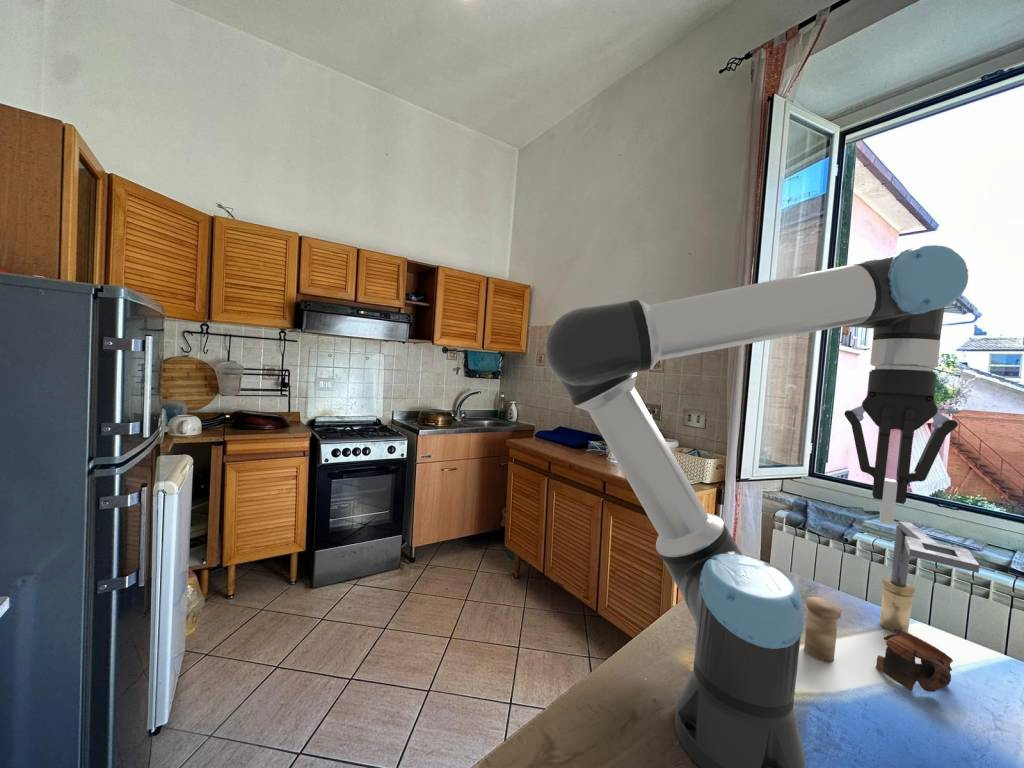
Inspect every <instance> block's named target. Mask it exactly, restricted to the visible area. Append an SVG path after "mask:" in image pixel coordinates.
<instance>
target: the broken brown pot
mask: <svg viewBox="0 0 1024 768" xmlns="http://www.w3.org/2000/svg"><path fill="white" fill-rule="evenodd" d="M895 631H896V633H893V634H892V633H891V634H889V635H886V636H884V637H883V640H884V641H885V645H886V649H885V652H884V655H885V656H882V655H877V657H876V665H875V668H876V669H877V670H878V671H880V672H882V673H883V674H885V675H887V676H888V677H889V678H890V679H892V680H894V681H895V682H897V683H898V684H900V685H902V686H903V687H904V688H907V690H909V691H912V690H913V688H914V686H915V685H916V682H917V683H918V684H919V686H920V688H922V690H924V691H925V692H930V693H936V691H938V690H942V689H944V688H946V687H948V685H949V686H950V683H951V681H952V674H951V672H952V671H953V668H952V667H951V664H952V663H953V662H954V659H952V657H950V656H949V655H947V654H946V653H945V652H944V651H942V650H940V649H939V648H937V647H936V646H934V645H933V644H930V642H929V643H928V642H927V641H925V640H923V639H922V638H920V637H917V636H915V635H913V634H911V633H910V632H908V633H907V632H905V631H903V630H900V629H895ZM916 658H917V659H919V660H920V663H916Z"/></svg>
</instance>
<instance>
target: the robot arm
mask: <svg viewBox="0 0 1024 768" xmlns="http://www.w3.org/2000/svg"><path fill="white" fill-rule="evenodd" d="M968 283H969V269H968V266H967V262H966V261H965V259H964V258H963V256H962V255H961V254H960V253H959V252H957V251H956V250H955V249H952V248H950V247H948V246H944V245H940V244H928V245H924V246H923V245H922V246H919V247H916V248H910V249H909V248H908V249H905V250H903V251H901V252H900V253H898V254H894V255H892V256H886V257H882V258H878V259H872V260H866V261H862V262H859V263H855V264H846V265H841V266H836V267H831V268H826V269H822V270H821V269H820V270H817V271H812V272H807V273H802V274H797V275H792V276H787V277H782V278H778V279H772V280H767V281H762V282H758V283H751V284H747V285H743V286H742V285H741V286H738V287H732V288H727V289H724V290H723V289H722V290H717V291H713V292H708V293H704V294H697V295H692V296H689V297H688V296H687V297H683V298H679V299H673V300H668V301H663V302H659V303H653V304H648V303H646V302H644V301H643V300H641V299H640V298H639V299H633V300H629V301H622V302H616V303H610V304H604V305H594V306H587V307H581V308H576V309H573V310H570V311H568V312H566V313H564V314H563V315H561V316H560V317H559V318H558V319H556V320H555V322H554V323H553V324H552V326H551V327H550V329H549V331H548V333H547V335H546V339H545V345H544V347H545V355H546V360H547V361H546V362H547V363H548V365H549V368H550V369H551V371H552V372H553V373H554V374H555V375H556V376H557V377H558V379H559V381H560V383H561V384H562V386H563V387H564V389H565V391H566V392H567V395H568V396H569V398H570V400H571V402H572V403H573V405H574V406H575V408H577V409H581V410H584V411H586V412H587V413H589V415H590V417H591V419H592V421H593V422H594V424H595V426H596V427H597V429H598V431H599V433H600V434H601V436H602V438H603V440H604V441H605V443H606V445H607V447H608V449H609V450H610V452H611V454H612V456H613V457H614V460H616V462H617V464H618V466H619V468H620V469H621V471H622V472H623V475H624V476H625V478H626V481H628V484H629V485H630V486H631V489H632V490H633V492H634V494H635V496H636V497H637V499H638V501H639V502H640V505H641V506H642V508H643V510H644V511H645V513H646V515H647V517H648V518H649V520H650V522H651V525H652V526H653V527H654V529H655V530H656V532H657V534H658V535H657V538H656V542H655V549H656V552H657V553H658V554H659V556H660V558H661V560H662V561H663V563H664V565H665V567H666V569H667V570H668V572H669V574H670V576H671V578H672V580H673V581H674V583H675V585H676V586H677V588H678V590H679V592H680V594H681V596H682V597H683V600H684V601H685V604H686V606H687V608H688V610H689V613H690V614H691V617H692V618H693V621H694V622H695V625H696V626H695V627H696V628H695V629H696V634H695V646H694V660H693V668H692V672H691V673H690V675H689V677H688V679H687V681H686V683H685V685H684V687H683V689H682V690H681V693H680V695H679V697H678V699H677V701H676V705H675V716H674V727H675V732H676V733H675V734H676V736H677V739H678V741H679V743H680V745H681V746H682V748H683V750H684V751H685V753H686V754H687V755H688V757H689V758H690V759H691V760H692V762H693V763H694V764H695V765H696V766H697V767H698V768H806V756H805V752H804V748H803V743H802V740H801V735H800V730H799V729H798V724H797V719H796V716H795V712H794V703H795V695H796V694H795V692H796V683H797V674H798V666H799V654H800V646H801V636H802V634H803V630H804V616H803V599H802V597H801V594H800V591H799V590H798V588H797V586H796V585H795V584H794V583H793V581H792V580H791V579H790V578H789V577H788V576H787V575H786V574H784V573H783V572H781V570H778V569H777V568H776V567H774V566H768V565H767V564H766V563H765V562H764V561H761V560H759V559H756V558H753V557H750V556H746V555H744V554H743V553H742V551H741V550H740V548H739V546H738V545H737V542H736V541H735V540H734V538H733V536H732V534H731V533H730V530H729V529H728V527H727V526H726V524H725V522H724V521H723V519H722V518H721V517H720V516H718V515H716V514H714V513H713V514H712V513H709V512H707V510H706V508H705V506H704V505H703V503H702V502H701V500H700V498H699V496H698V495H697V493H696V492H695V489H694V488H693V487H692V485H691V482H690V481H689V479H688V478H687V476H686V474H685V473H684V470H683V469H682V467H681V465H680V463H679V462H678V460H677V458H676V457H675V455H674V453H673V451H672V450H671V449H670V447H669V445H668V443H667V441H666V440H665V438H664V436H663V434H662V432H661V431H660V429H659V428H658V425H657V424H656V421H655V420H654V418H653V417H652V415H651V414H650V411H649V410H648V408H647V407H646V404H645V403H644V402H643V400H642V398H641V396H640V394H639V393H638V391H637V389H636V387H635V386H636V385H635V383H636V381H637V376H638V373H639V372H643V371H644V372H645V371H649V370H652V369H653V368H654V367H655V365H656V364H657V363H658V362H659V361H664V360H668V359H675V358H680V357H684V356H690V355H696V354H700V353H705V352H711V351H716V350H717V351H718V350H722V349H729V348H734V347H739V346H743V345H749V344H753V343H760V342H765V341H770V340H776V339H781V338H782V339H783V338H788V337H792V336H798V335H803V334H809V333H814V332H820V331H825V330H830V329H836V328H840V327H841V328H863V329H873V330H872V331H873V332H872V334H873V335H872V346H871V353H870V354H871V355H870V363H869V364H870V365H871V366H873V367H874V369H871V370H870V371H869V373H868V382H867V383H868V384H867V393H866V397H865V398H864V399H863V401H861V402H862V403H861V405H860V406H858V407H857V406H856V407H854V408H852V409H847V410H845V412H844V414H843V415H844V417H845V418H846V419H847V421H848V423H849V424H850V425H851V430H852V435H853V439H854V445H855V448H856V449H855V450H856V454H857V460H858V465H859V469H860V471H861V472H863V473H866V474H867V475H870V476H871V477H873V483H872V493H871V494H872V497H873V499H875V500H880V506H879V508H880V509H879V519H878V520H879V523H880V524H885V525H890V526H894V521H895V512H896V504H901V505H904V504H905V503H906V501H907V495H908V493H907V492H908V486H909V484H910V483H913V482H925V481H926V479H927V478H928V475H929V473H930V471H931V468H932V466H933V464H934V463H935V460H936V458H937V456H938V453H939V451H940V450H941V448H942V445H943V444H944V441H945V440H946V438H947V435H949V434H950V433H952V431H954V429H956V428H957V427H958V426H959V422H958V421H956V420H955V419H950V418H949V417H947V416H945V415H943V414H942V413H940V412H939V408H938V406H937V404H936V402H935V394H936V393H935V392H936V385H937V384H936V383H937V373H936V372H935V371H933V369H935V368H937V367H939V358H940V347H941V336H942V328H943V321H944V314H945V308H946V307H948V306H949V305H951V304H952V303H954V302H955V301H957V299H959V298H960V296H962V295H963V293H964V292H965V290H966V288H967V285H968ZM865 412H866V414H867V415H868V417H870V419H871V420H872V422H873V423H874V424H875V425H876V426H877V427H878V436H877V444H876V453H875V461H874V466H873V465H871V464H870V461H869V455H868V451H867V447H866V446H867V445H866V441H865V437H864V431H863V427H862V424H861V421H863V420H864V413H865ZM931 419H932V420H933V422H932V423H931V427H932V428H934V429H933V430H932V432H931V434H930V436H929V438H928V440H927V443H926V444H925V447H924V449H923V451H922V453H921V454H920V455H921V456H920V457H919V459H918V461H917V464H916V466H915V468H914V470H913V471H910V469H911V459H912V452H913V450H912V449H913V442H914V436H915V431H916V430H919V429H920V428H921V427H922V426H923V425H925V424H926V423H927V422H929V421H930V420H931ZM891 430H898V431H900V432H899V433H900V437H899V445H898V446H899V447H898V455H897V456H898V457H897V467H896V474H895V475H896V479H892V478H886V473H887V465H888V463H887V462H888V456H889V455H888V454H889V448H890V447H889V446H890V436H891Z"/></svg>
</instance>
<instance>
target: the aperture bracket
mask: <svg viewBox="0 0 1024 768" xmlns="http://www.w3.org/2000/svg"><path fill="white" fill-rule="evenodd" d="M895 527H896V528H895V534H894V535H895V536H894V545H893V554H892V564H891V571H890V572H891V575H890V578H888V577H884V578H882V579H881V588H882V594H881V595H882V596H881V604H880V605H881V608H880V615H879V625H880V626H881V627H882V628H883V627H884V628H883V629H886V630H887V631H889V632H892V633H894V632H895V633H896V631H895V629H900V630H903V631H905V632H907V633H909V628H910V621H911V620H910V619H911V610H912V601H913V597H915V594H916V593H915V592H916V588H915V587H914V586H912V585H911V584H909V583H908V576H909V575H908V574H909V564H910V557H913V558H916V559H921V560H925V561H929V562H932V563H935V564H936V563H937V564H941V565H945V566H948V567H954V568H957V569H961V570H966V571H970V572H974V573H978V574H979V572H980V564H979V562H977V560H976V559H975V557H974V556H973V554H972V553H971V552H970V550H969V549H964V548H960V547H955V546H950V545H946V544H942V543H937V541H935V540H934V539H932V538H931V537H930V536H928V535H927V534H926V533H925V532H923V531H922V530H921V529H920V528H918V527H917V526H916V525H915V524H913V523H912V522H907V521H901V520H898V524H897V525H896V526H895ZM895 633H894V634H895Z"/></svg>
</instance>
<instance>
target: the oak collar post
mask: <svg viewBox="0 0 1024 768" xmlns="http://www.w3.org/2000/svg"><path fill="white" fill-rule="evenodd" d="M805 607H806V608H807V615H806V626H805V638H804V647H803V649H804V652H805V653H806V654H807V655H808V656H811V657H812V658H814V659H816V660H818V661H821V662H824V663H832V662H833V661H835V652H836V651H835V650H836V642H837V641H836V640H837V632H838V621H839V619H841V615H842V609H841V607H840V606H839V605H837V604H836V603H835V602H833V601H831V600H828V599H826V598H822V597H819V596H809V597H807V598H806V606H805Z"/></svg>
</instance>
